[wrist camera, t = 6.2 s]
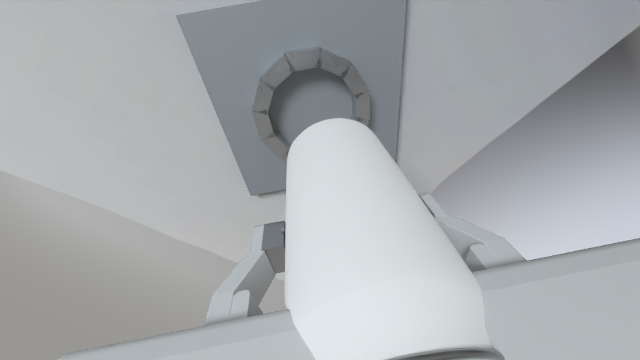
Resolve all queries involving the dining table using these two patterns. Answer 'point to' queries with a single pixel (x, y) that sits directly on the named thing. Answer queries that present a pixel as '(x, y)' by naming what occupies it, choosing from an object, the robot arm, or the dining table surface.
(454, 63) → the dining table surface
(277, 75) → the collar
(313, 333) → the can
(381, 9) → the board
